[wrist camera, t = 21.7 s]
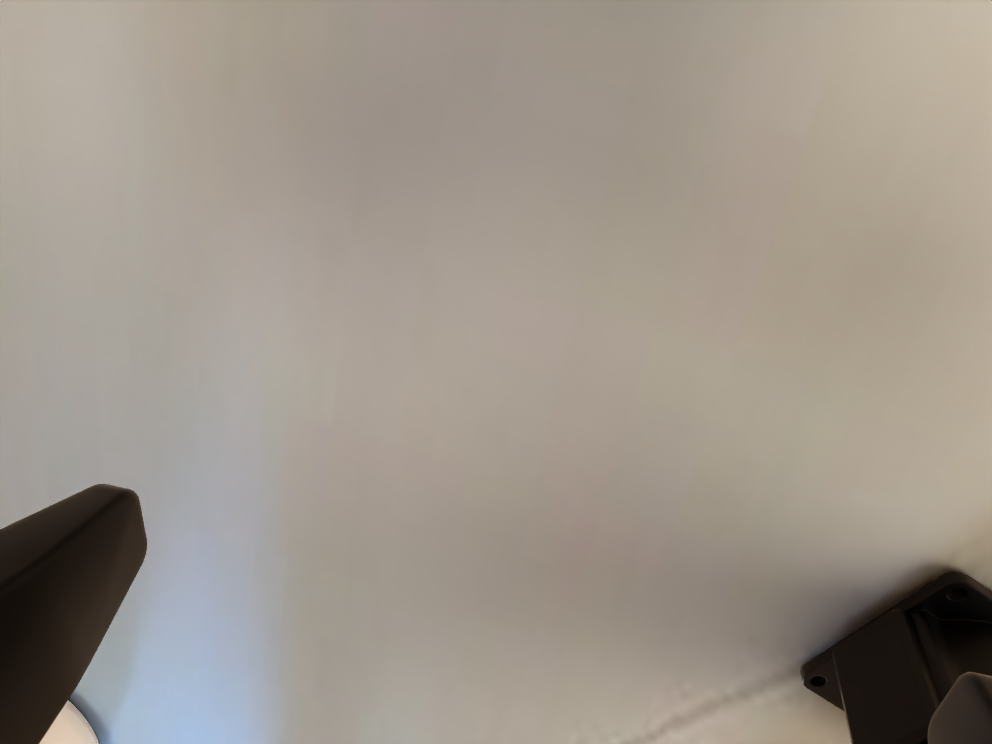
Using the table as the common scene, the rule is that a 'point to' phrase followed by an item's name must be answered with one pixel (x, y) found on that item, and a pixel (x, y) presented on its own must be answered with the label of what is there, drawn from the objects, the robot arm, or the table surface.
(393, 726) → the table surface
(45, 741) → the coffeepot
